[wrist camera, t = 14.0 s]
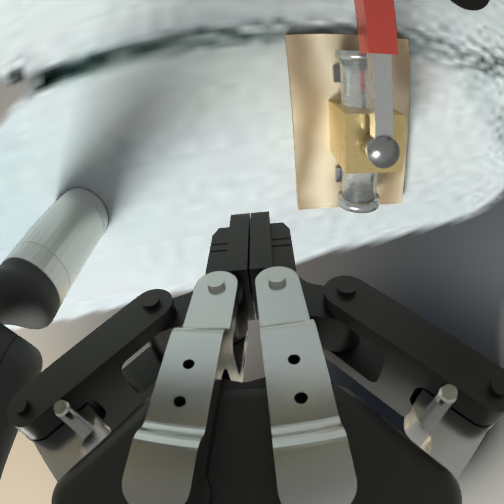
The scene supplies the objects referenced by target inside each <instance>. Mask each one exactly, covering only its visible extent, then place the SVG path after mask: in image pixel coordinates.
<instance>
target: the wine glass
mask: <svg viewBox="0 0 504 504" xmlns="http://www.w3.org/2000/svg"><path fill="white" fill-rule="evenodd" d="M451 1H452V2H453V3H455V4H456V5H458V6H460V7H462V8H464V9H468V10H479V9H482V8H484V7H485V6H486V5H487V4H488V2H489V0H451Z"/></svg>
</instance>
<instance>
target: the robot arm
mask: <svg viewBox="0 0 504 504" xmlns="http://www.w3.org/2000/svg"><path fill="white" fill-rule="evenodd" d="M107 226H108V214H107V210H106V208H105V206H104V204H103V203H102V201H101V200H100V199H99V198H98V197H97V196H96V195H95V194H93V193H92V192H90V191H88V190H86V189H81V188H74V189H70V190H68V191H66V192H65V193H64V194H63V195H62V196H61V197H60V198H59V199H58V200H57V201H56V202H54V203H53V204H52V205H51V206H50V207H49V208H48V210H47V211H46V212H45V213H44V214H43V215H42V216H41V217H40V218H39V219H38V220H37V221H36V222H35V224H34V225H33V226H32V227H31V228H30V229H29V230H28V231H27V233H26V234H25V236H24V237H23V238H22V239H21V240H20V242H19V243H18V244H17V245H16V246H15V248H14V249H13V250H12V251H11V253H10V254H9V255H8V256H7V257H6V259H5V260H4V261H3V262H2V264H1V265H0V478H1V475H2V472H3V469H4V466H5V463H6V461H7V458H8V455H9V452H10V450H11V447H12V445H13V442H14V439H15V437H16V434H17V432H18V430H19V431H21V432H22V433H23V434H24V435H25V436H26V437H27V438H28V439H30V440H31V441H32V442H34V444H35V445H36V447H37V449H38V451H39V452H40V454H41V456H42V457H43V459H44V461H45V463H46V464H47V466H48V468H49V469H50V471H51V472H52V474H53V475H54V477H55V478H56V480H57V482H58V483H57V484H56V487H55V489H54V492H53V496H52V504H462V495H461V490H460V487H459V484H458V482H457V480H456V479H457V477H458V476H459V475H460V473H461V472H462V470H463V469H464V467H465V466H466V464H467V463H468V461H469V460H470V458H471V456H472V455H473V454H474V452H475V450H476V449H477V447H478V445H479V444H480V442H481V440H482V439H483V437H484V436H485V434H486V432H487V430H488V429H490V428H491V427H492V426H493V425H494V424H495V423H496V422H497V421H498V420H499V419H500V418H501V417H502V416H503V415H504V369H503V368H501V367H500V366H498V365H497V364H495V363H494V362H492V361H490V360H489V359H488V358H486V357H484V356H483V355H481V354H480V353H478V352H476V351H475V350H474V349H472V348H470V347H469V346H467V345H466V344H464V343H462V342H461V341H459V340H458V339H456V338H455V337H453V336H452V335H450V334H448V333H447V332H445V331H443V330H442V329H440V328H439V327H437V326H435V325H434V324H432V323H431V322H429V321H428V320H426V319H424V318H423V317H421V316H419V315H418V314H416V313H414V312H413V311H411V310H410V309H408V308H406V307H405V306H403V305H401V304H400V303H398V302H396V301H395V300H393V299H391V298H390V297H388V296H387V295H385V294H383V293H382V292H380V291H378V290H377V289H375V288H373V287H371V286H370V285H368V284H367V283H365V282H363V281H362V280H360V279H358V278H355V277H352V276H338V277H335V278H332V279H331V280H329V281H328V282H327V283H326V285H325V286H321V285H315V284H311V283H308V282H306V281H304V280H303V279H301V278H300V277H299V276H298V274H297V272H296V267H295V260H294V254H293V247H292V241H291V235H290V229H289V228H288V227H287V226H286V225H285V224H284V223H272V224H270V219H269V211H268V212H257V213H251V219H250V214H249V213H247V214H236V215H231V220H230V227H228V228H219V229H218V230H217V231H216V233H215V234H214V235H213V237H212V242H211V247H210V253H209V258H208V263H207V268H206V274H205V275H204V276H202V277H201V278H200V279H199V280H198V281H197V283H196V285H195V288H194V291H192V292H190V293H188V294H185V295H182V296H178V297H176V298H172V296H171V294H170V293H169V292H167V291H165V290H162V289H153V290H149V291H146V292H144V293H142V294H141V295H140V296H138V297H137V298H136V299H134V300H133V301H132V302H130V303H129V304H128V305H126V306H125V307H124V308H122V309H121V310H120V311H119V312H117V313H116V314H115V315H113V316H112V317H111V318H110V319H108V320H107V321H106V322H104V323H103V324H102V325H100V326H99V327H98V328H97V329H95V330H94V331H93V332H91V333H90V334H89V335H88V336H86V337H85V338H84V339H83V340H81V341H80V342H79V343H77V344H76V345H75V346H74V347H72V348H71V349H70V350H69V351H68V352H66V353H65V354H64V355H62V356H61V357H60V358H59V359H57V360H56V361H55V362H54V363H52V364H51V365H50V366H49V367H48V368H46V369H45V370H44V371H43V372H41V370H42V356H41V353H40V352H39V350H38V349H37V348H35V347H34V346H33V345H32V344H30V343H29V342H27V341H26V340H25V339H23V338H22V337H20V336H18V335H17V334H16V333H14V332H13V331H11V330H10V329H8V328H7V327H6V326H4V325H5V324H7V325H16V326H20V327H25V328H29V329H42V328H45V327H47V326H48V325H49V324H50V323H51V322H52V321H53V319H54V317H55V315H56V313H57V312H58V310H59V308H60V306H61V304H62V302H63V300H64V298H65V297H66V295H67V293H68V291H69V289H70V288H71V286H72V284H73V282H74V281H75V279H76V277H77V276H78V274H79V272H80V270H81V269H82V267H83V265H84V264H85V262H86V261H87V259H88V257H89V256H90V254H91V252H92V251H93V249H94V248H95V246H96V245H97V243H98V241H99V240H100V238H101V237H102V235H103V234H104V232H105V230H106V228H107ZM255 311H256V318H257V319H259V321H260V334H261V343H262V351H263V361H264V370H265V378H261V379H257V380H254V381H250V382H243V374H244V366H245V358H246V349H247V341H248V336H247V329H248V320H255ZM147 343H149V345H150V347H149V348H147V349H146V350H145V351H144V352H143V353H141V354H140V355H139V356H138V357H137V358H136V359H134V360H133V361H132V362H131V363H130V364H128V365H127V366H126V367H125V368H124V369H122V365H123V364H124V362H125V361H126V360H127V359H129V358H130V357H131V356H132V355H133V354H135V353H136V352H137V351H138V350H139V349H141V348H142V347H143V346H144V345H145V344H147ZM324 356H325V357H326V358H327V359H329V360H330V361H331V362H333V363H334V364H335V365H337V366H338V367H339V368H340V369H342V370H343V371H344V372H346V373H347V374H348V375H349V376H351V377H352V378H353V379H355V380H356V381H357V382H358V383H360V384H361V385H362V386H364V387H365V388H366V389H368V390H369V391H370V392H372V393H373V394H374V395H376V396H377V397H378V398H379V399H381V400H382V401H383V402H385V403H386V404H387V405H389V406H390V407H391V408H393V409H394V410H395V411H397V412H398V413H400V414H401V415H402V416H403V417H405V420H404V429H405V432H406V434H407V436H408V437H409V438H410V439H411V440H412V441H411V440H410V439H409V438H408V437H406V436H405V435H404V434H403V433H402V432H400V431H399V430H398V429H397V428H395V427H394V426H393V425H392V424H391V423H389V422H388V421H386V419H384V418H383V417H382V416H381V415H380V414H378V413H377V412H376V411H375V410H373V409H372V408H371V407H370V406H369V405H368V404H366V403H365V402H364V401H363V400H362V399H360V398H359V397H358V396H357V395H356V394H354V393H353V392H351V391H350V390H348V389H347V388H345V387H342V386H340V385H338V384H335V383H332V382H331V381H330V377H329V373H328V369H327V366H326V362H325V358H324ZM121 369H122V370H121Z"/></svg>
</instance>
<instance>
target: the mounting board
mask: <svg viewBox="0 0 504 504" xmlns="http://www.w3.org/2000/svg"><path fill="white" fill-rule="evenodd" d="M285 41H286V51H287V61H288V71H289V83H290V94H291V107H292V120H293V134H294V150H295V166H296V185H297V205H298V209H299V210H301V209H314V208H328V207H340V206H339V204H338V192H339V191H340V190H342V182H336V181H335V166H340V165H339V163H338V162H337V160H336V158H335V157H334V155H333V154H332V152H331V151H330V138H329V108H328V100H341V82H333V72H332V66H340V61H339V59H335V54H334V50H357V51H360V49H359V38H358V35H349V34H293V35H285ZM397 41H398V55H394V54H391V61H392V85H393V108H394V109H395V110H397V111H399V112H401V113H402V114H404V115H405V127H404V144H403V158H402V170H401V172H386V173H378V175H377V189H376V192H377V193H378V194H379V196H380V200H379V204H395V203H401V202H402V193H403V185H404V175H405V165H406V153H407V139H408V120H409V42H408V39H400V38H397Z"/></svg>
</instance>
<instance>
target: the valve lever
mask: <svg viewBox="0 0 504 504" xmlns="http://www.w3.org/2000/svg"><path fill="white" fill-rule="evenodd" d="M354 3H355V11H356V19H357V28H358V38H359V49H360V52H362V53H367V66H368V84H369V111H370V133H369V134H368V135H367V136H366V137H365V138H364V140H363V144H362V148H363V152H364V154H365V155H366V156H367V158H368V159H369V160H370V161H371V162H372V163H373V164H374V165H375V166H376V167H378V168H389V167H391V166H393V165H394V164H395V163H396V162H397V160H398V158H399V155H400V148H399V145H398V144H397V142H396V141H395V140H394V139H393V85H392V61H391V54H394V55H398V41H397V29H396V19H395V9H394V1H393V0H354Z"/></svg>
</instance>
